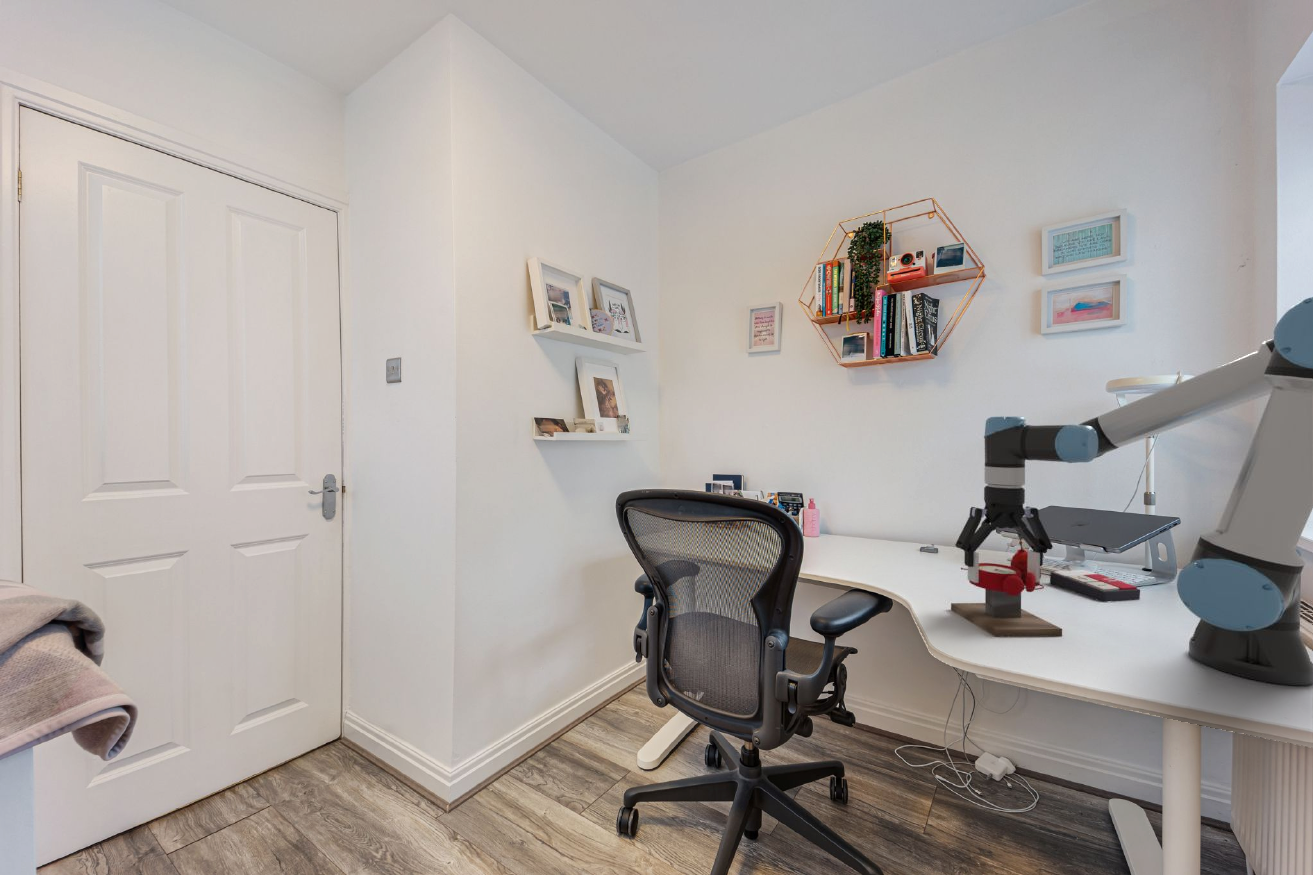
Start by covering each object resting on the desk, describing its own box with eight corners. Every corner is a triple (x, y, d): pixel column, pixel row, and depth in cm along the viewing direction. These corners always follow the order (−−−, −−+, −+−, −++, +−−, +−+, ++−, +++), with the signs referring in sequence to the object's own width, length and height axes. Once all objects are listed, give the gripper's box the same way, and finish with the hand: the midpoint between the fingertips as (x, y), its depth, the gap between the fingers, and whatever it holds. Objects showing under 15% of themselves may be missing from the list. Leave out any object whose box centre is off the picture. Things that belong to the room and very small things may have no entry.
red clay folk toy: (1047, 585, 142) (1048, 531, 142) (1024, 586, 141) (1025, 532, 141) (1024, 577, 150) (1025, 525, 150) (1002, 578, 149) (1003, 526, 149)
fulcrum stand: (1062, 635, 108) (1062, 600, 108) (995, 636, 108) (995, 600, 108) (1009, 608, 124) (1009, 577, 124) (951, 609, 124) (951, 578, 124)
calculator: (1104, 589, 129) (1049, 569, 144) (1102, 605, 129) (1048, 584, 144) (1141, 586, 131) (1084, 567, 145) (1140, 603, 131) (1083, 582, 146)
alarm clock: (983, 560, 126) (1050, 561, 112) (989, 587, 124) (1057, 591, 111) (954, 565, 121) (1020, 566, 108) (959, 593, 120) (1027, 598, 107)
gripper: (1046, 483, 120) (1045, 575, 120) (939, 484, 119) (938, 576, 120) (1073, 487, 112) (1072, 585, 113) (958, 488, 112) (957, 586, 112)
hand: (1003, 580), depth 116 cm, fingers open, 13 cm apart
